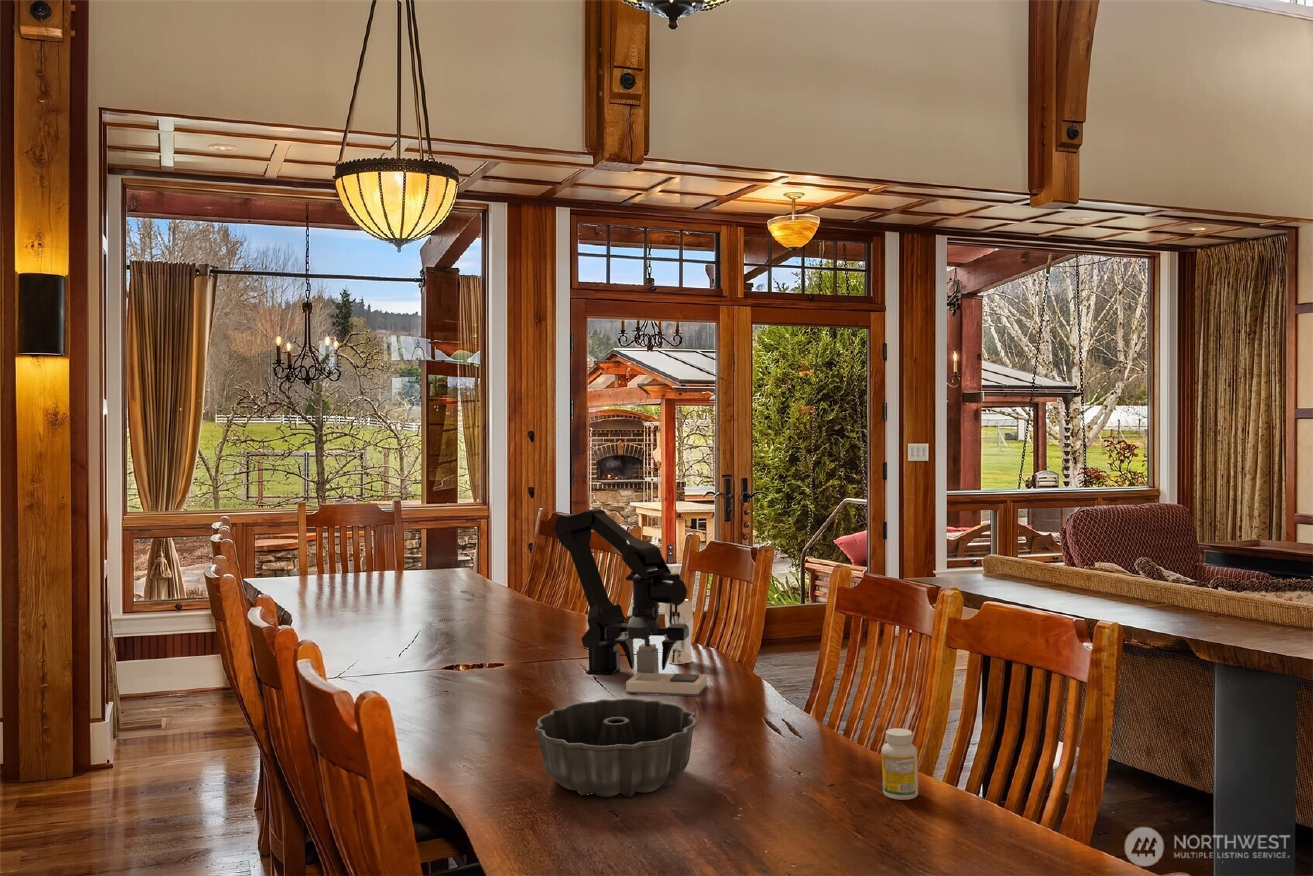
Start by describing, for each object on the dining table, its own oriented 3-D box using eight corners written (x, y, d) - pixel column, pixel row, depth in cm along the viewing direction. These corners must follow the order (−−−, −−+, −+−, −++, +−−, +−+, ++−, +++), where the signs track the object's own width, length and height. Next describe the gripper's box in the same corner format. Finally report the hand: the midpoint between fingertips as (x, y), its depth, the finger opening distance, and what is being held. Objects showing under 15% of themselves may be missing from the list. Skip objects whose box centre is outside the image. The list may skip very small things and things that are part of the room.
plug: (637, 682, 234) (636, 640, 234) (642, 678, 238) (641, 637, 238) (654, 682, 233) (653, 640, 233) (658, 678, 237) (657, 637, 237)
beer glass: (692, 665, 249) (690, 603, 249) (663, 665, 250) (661, 603, 250) (696, 659, 256) (694, 598, 256) (669, 658, 257) (667, 598, 257)
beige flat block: (626, 693, 224) (625, 680, 224) (637, 683, 233) (637, 670, 233) (698, 696, 220) (697, 682, 220) (707, 686, 228) (706, 672, 228)
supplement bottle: (908, 803, 154) (906, 739, 154) (876, 796, 157) (874, 733, 157) (924, 793, 158) (922, 730, 158) (892, 786, 162) (891, 725, 162)
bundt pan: (685, 813, 153) (684, 746, 153) (515, 807, 158) (513, 741, 158) (708, 757, 179) (706, 699, 179) (561, 753, 184) (560, 697, 184)
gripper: (595, 606, 230) (598, 676, 230) (677, 607, 225) (679, 679, 225) (610, 598, 241) (612, 665, 241) (688, 599, 236) (690, 667, 236)
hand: (647, 669), depth 236 cm, fingers open, 7 cm apart
